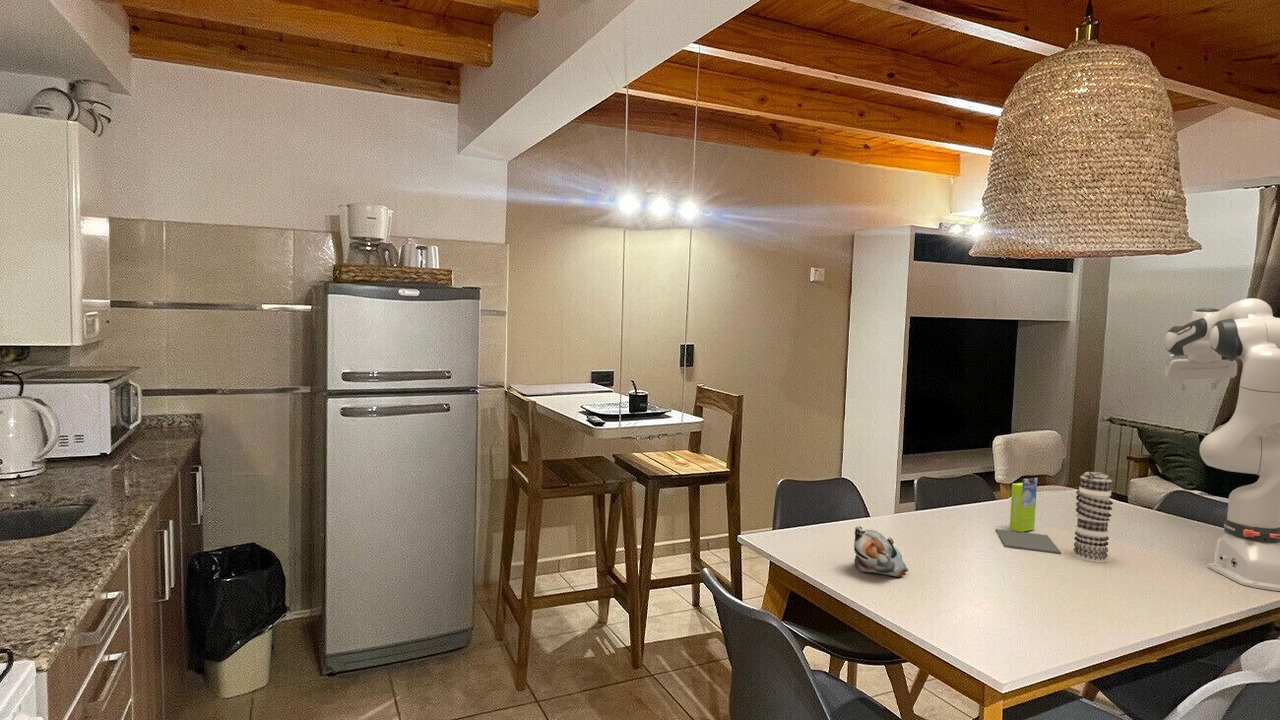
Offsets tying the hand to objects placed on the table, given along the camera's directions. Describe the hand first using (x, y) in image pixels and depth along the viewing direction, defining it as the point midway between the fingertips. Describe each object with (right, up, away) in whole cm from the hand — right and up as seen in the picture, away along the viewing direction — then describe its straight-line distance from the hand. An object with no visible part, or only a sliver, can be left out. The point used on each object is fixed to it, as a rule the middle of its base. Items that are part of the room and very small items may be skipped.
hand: (1198, 389), depth 252 cm
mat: (-76, -46, -29) cm, 93 cm away
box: (-71, -46, -16) cm, 86 cm away
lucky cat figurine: (-133, -46, -63) cm, 154 cm away
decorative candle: (-65, -48, -43) cm, 91 cm away
